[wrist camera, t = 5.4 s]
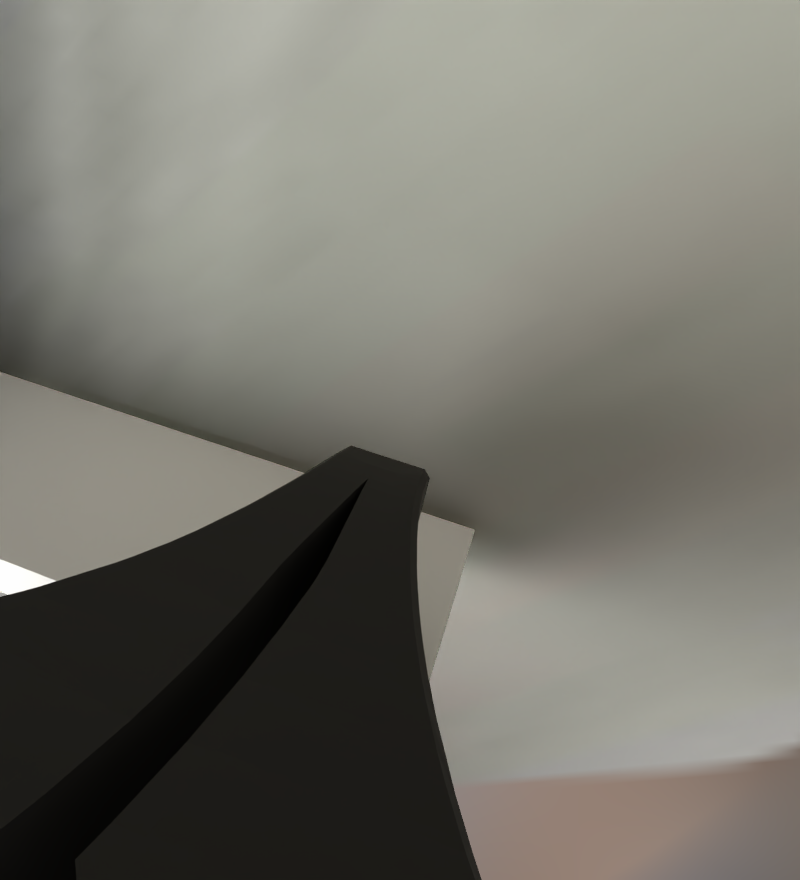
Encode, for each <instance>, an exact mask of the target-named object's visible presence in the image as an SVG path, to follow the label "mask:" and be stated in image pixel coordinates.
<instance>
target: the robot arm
mask: <svg viewBox="0 0 800 880" xmlns="http://www.w3.org/2000/svg"><path fill="white" fill-rule="evenodd" d="M429 479H430V478H429V476H428V474H427V473H426V471H425V469H422V468H419V467H416V466H412V465H409V464H406V463H403V462H400V461H397V460H394V459H391V458H388V457H384V456H381V455H378V454H375V453H372V452H369V451H366V450H363V449H360V448H356V447H353V446H350V447H348V448H346V449H344V450H342V451H340V452H339V453H337V454H335V455H334V456H332V457H330V458H329V459H327V460H325V461H324V462H322V463H320V464H319V465H317V466H316V467H314V468H312V469H311V470H309V471H307V472H306V473H304V474H302V475H300V476H299V477H297V478H295V479H294V480H292V481H290V482H289V483H287V484H285V485H283V486H281V487H280V488H278V489H276V490H274V491H272V492H271V493H269V494H267V495H265V496H264V497H262V498H260V499H258V500H256V501H255V502H253V503H251V504H249V505H247V506H245V507H243V508H241V509H239V510H237V511H235V512H233V513H231V514H229V515H227V516H225V517H223V518H221V519H219V520H217V521H215V522H213V523H211V524H209V525H207V526H204V527H202V528H200V529H198V530H196V531H194V532H192V533H189V534H187V535H185V536H183V537H180V538H178V539H176V540H173V541H171V542H169V543H166V544H164V545H161V546H158V547H156V548H153V549H151V550H148V551H145V552H143V553H140V554H138V555H135V556H132V557H130V558H127V559H124V560H121V561H118V562H116V563H112V564H109V565H106V566H103V567H100V568H97V569H93V570H90V571H87V572H84V573H81V574H78V575H74V576H71V577H68V578H65V579H62V580H58V581H55V582H52V583H49V584H46V585H43V586H39V587H36V588H32V589H29V590H25V591H21V592H17V593H13V594H10V595H6V596H2V597H0V880H481V877H480V874H479V871H478V868H477V865H476V862H475V859H474V856H473V853H472V849H471V846H470V843H469V839H468V836H467V832H466V829H465V826H464V822H463V819H462V815H461V812H460V809H459V805H458V802H457V799H456V796H455V792H454V788H453V784H452V780H451V776H450V772H449V767H448V763H447V759H446V755H445V751H444V747H443V743H442V739H441V735H440V731H439V727H438V723H437V719H436V714H435V710H434V704H433V699H432V694H431V689H430V683H429V678H428V672H427V666H426V659H425V653H424V646H423V639H422V631H421V621H420V611H419V597H418V581H417V535H418V522H419V518H420V514H421V510H422V506H423V502H424V498H425V494H426V490H427V486H428V482H429Z"/></svg>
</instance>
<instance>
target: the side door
mask: <svg viewBox="0 0 800 880" xmlns="http://www.w3.org/2000/svg"><path fill="white" fill-rule="evenodd" d="M302 474H304V473H303V472H300V471H297V470H294V469H291V468H288V467H285V466H282V465H279V464H276V463H273V462H270V461H267V460H264V459H261V458H258V457H255V456H252V455H249V454H246V453H243V452H240V451H237V450H234V449H231V448H228V447H225V446H222V445H219V444H216V443H213V442H210V441H207V440H204V439H201V438H198V437H195V436H192V435H189V434H186V433H183V432H180V431H177V430H174V429H171V428H168V427H165V426H162V425H159V424H156V423H153V422H150V421H147V420H144V419H141V418H138V417H135V416H132V415H129V414H126V413H123V412H120V411H116V410H113V409H110V408H107V407H104V406H101V405H98V404H95V403H92V402H89V401H86V400H83V399H80V398H77V397H74V396H71V395H68V394H65V393H62V392H59V391H56V390H53V389H50V388H47V387H44V386H41V385H38V384H35V383H32V382H29V381H26V380H23V379H20V378H17V377H14V376H11V375H8V374H5V373H2V372H0V592H3V593H5V594H8V595H10V594H13V593H17V592H21V591H25V590H29V589H32V588H36V587H39V586H43V585H46V584H49V583H52V582H55V581H58V580H62V579H65V578H68V577H71V576H74V575H78V574H81V573H84V572H87V571H90V570H93V569H97V568H100V567H103V566H106V565H109V564H112V563H116V562H118V561H121V560H124V559H127V558H130V557H132V556H135V555H138V554H140V553H143V552H145V551H148V550H151V549H153V548H156V547H158V546H161V545H164V544H166V543H169V542H171V541H173V540H176V539H178V538H180V537H183V536H185V535H187V534H189V533H192V532H194V531H196V530H198V529H200V528H202V527H204V526H207V525H209V524H211V523H213V522H215V521H217V520H219V519H221V518H223V517H225V516H227V515H229V514H231V513H233V512H235V511H237V510H239V509H241V508H243V507H245V506H247V505H249V504H251V503H253V502H255V501H256V500H258V499H260V498H262V497H264V496H265V495H267V494H269V493H271V492H272V491H274V490H276V489H278V488H280V487H281V486H283V485H285V484H287V483H289V482H290V481H292V480H294V479H295V478H297V477H299V476H300V475H302ZM474 532H475V529H471V528H468V527H465V526H462V525H459V524H456V523H453V522H450V521H447V520H444V519H441V518H438V517H435V516H432V515H429V514H426V513H423V512H421V514H420V518H419V522H418V535H417V581H418V597H419V611H420V621H421V631H422V639H423V646H424V653H425V659H426V666H427V672H428V678H429V680H430V677H431V673H432V670H433V667H434V663H435V660H436V657H437V654H438V650H439V647H440V644H441V641H442V637H443V634H444V631H445V627H446V624H447V621H448V618H449V614H450V611H451V608H452V604H453V601H454V598H455V595H456V591H457V588H458V585H459V581H460V578H461V575H462V572H463V568H464V565H465V562H466V559H467V555H468V552H469V549H470V545H471V542H472V539H473V536H474Z"/></svg>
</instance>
